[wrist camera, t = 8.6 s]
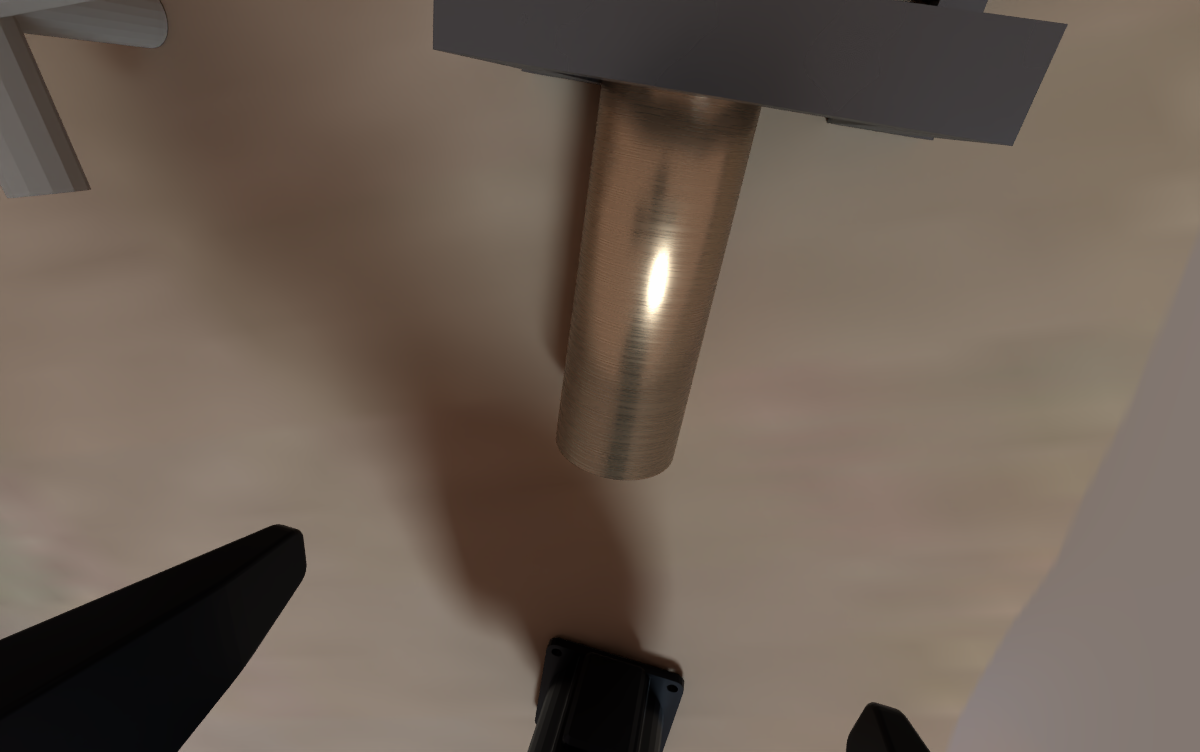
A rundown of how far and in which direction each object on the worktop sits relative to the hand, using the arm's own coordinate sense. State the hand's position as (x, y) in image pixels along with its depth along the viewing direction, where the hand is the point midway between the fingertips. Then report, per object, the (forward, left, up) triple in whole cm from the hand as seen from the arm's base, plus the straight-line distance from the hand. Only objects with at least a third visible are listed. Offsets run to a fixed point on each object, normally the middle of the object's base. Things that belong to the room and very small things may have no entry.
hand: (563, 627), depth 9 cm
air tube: (+5, 0, -12) cm, 13 cm away
